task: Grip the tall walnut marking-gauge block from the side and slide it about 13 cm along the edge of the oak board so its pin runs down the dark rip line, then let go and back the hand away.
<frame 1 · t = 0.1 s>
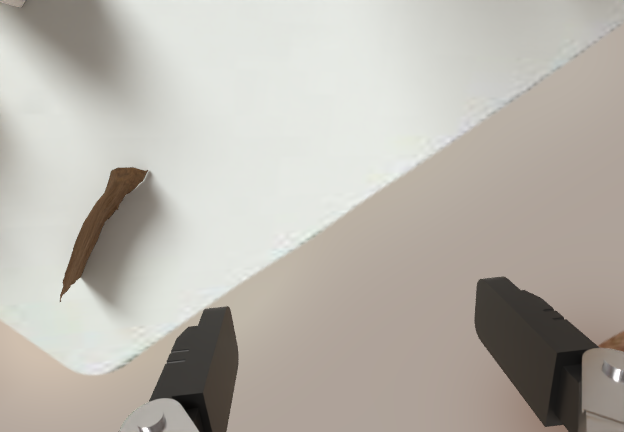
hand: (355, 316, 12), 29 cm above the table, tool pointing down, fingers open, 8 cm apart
wood plank: (111, 223, 41), on the table
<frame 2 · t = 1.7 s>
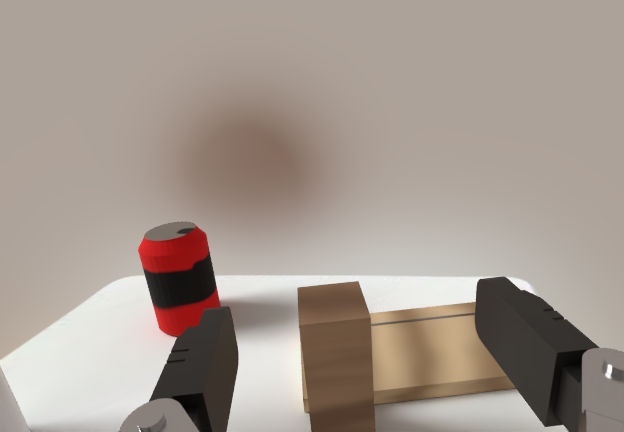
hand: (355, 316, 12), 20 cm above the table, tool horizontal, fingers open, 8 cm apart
board: (410, 354, 38), on the table
soda can: (191, 319, 47), on the table
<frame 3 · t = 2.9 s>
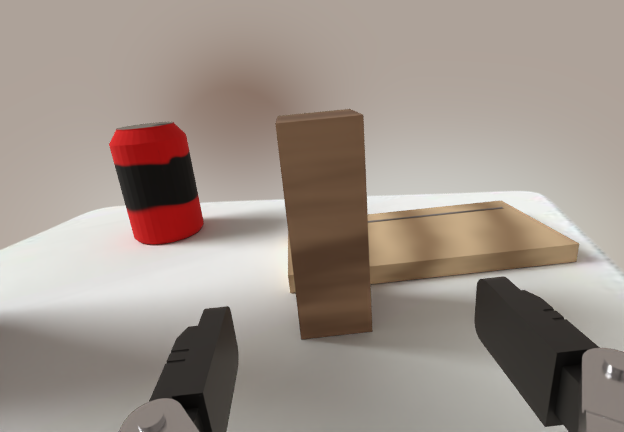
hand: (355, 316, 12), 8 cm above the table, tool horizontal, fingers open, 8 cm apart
board: (412, 247, 34), on the table
soda can: (170, 233, 43), on the table
gauge: (332, 314, 25), on the table
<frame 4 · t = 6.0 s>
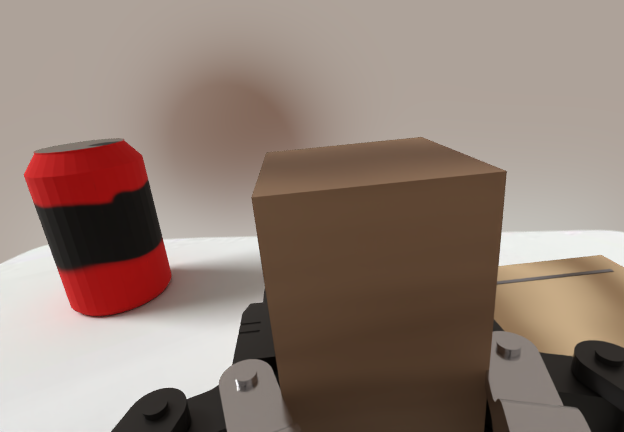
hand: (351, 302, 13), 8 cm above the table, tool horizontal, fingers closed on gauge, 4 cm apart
board: (484, 341, 21), on the table
soda can: (125, 293, 31), on the table
when the fingers open (8 cm above the table, at t = 10.8 s): gauge stays where it is, on the table.
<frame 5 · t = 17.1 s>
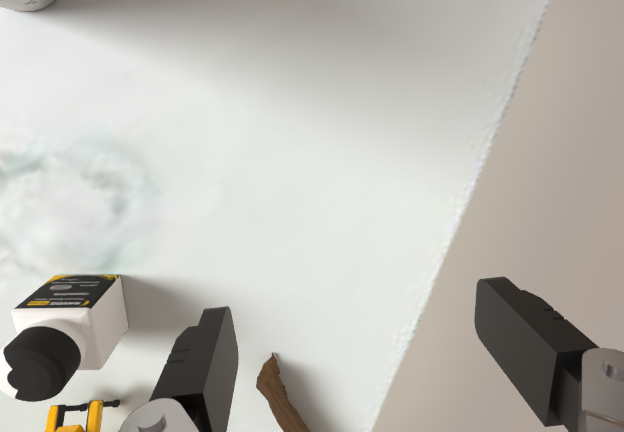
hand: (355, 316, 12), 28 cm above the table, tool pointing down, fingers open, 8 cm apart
wood plank: (292, 395, 49), on the table
robot dog: (112, 430, 49), on the table
medicine bottle: (94, 300, 43), on the table
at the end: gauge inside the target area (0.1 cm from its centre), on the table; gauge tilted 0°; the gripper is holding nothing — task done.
